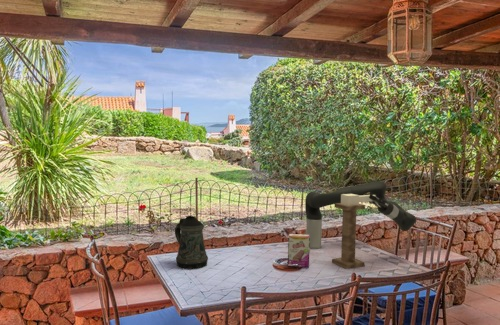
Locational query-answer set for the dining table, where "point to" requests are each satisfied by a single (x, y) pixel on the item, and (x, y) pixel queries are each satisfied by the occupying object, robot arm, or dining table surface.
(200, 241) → the beer stein
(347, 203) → the handle block
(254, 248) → the dining table surface
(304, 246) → the candy bar box
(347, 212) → the stand
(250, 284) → the dining table surface
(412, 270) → the dining table surface
